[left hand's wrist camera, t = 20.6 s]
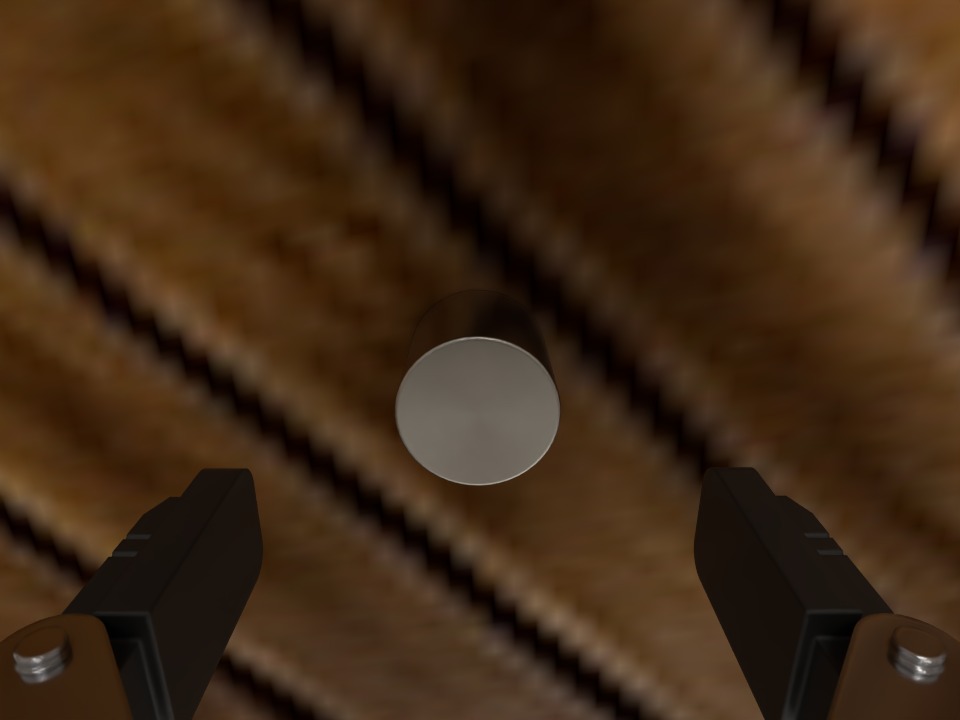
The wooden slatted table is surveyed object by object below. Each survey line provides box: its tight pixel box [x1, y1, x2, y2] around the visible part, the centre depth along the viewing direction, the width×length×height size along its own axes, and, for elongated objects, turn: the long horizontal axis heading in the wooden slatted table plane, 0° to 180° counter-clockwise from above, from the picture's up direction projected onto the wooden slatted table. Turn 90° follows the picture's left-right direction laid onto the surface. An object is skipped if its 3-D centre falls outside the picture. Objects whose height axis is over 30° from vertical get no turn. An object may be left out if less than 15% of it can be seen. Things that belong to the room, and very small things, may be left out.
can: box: [395, 290, 561, 486], centre depth 17 cm, size 4×4×4 cm
